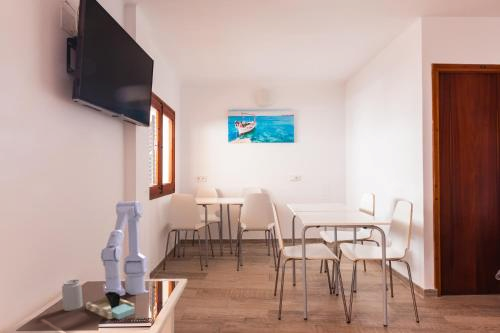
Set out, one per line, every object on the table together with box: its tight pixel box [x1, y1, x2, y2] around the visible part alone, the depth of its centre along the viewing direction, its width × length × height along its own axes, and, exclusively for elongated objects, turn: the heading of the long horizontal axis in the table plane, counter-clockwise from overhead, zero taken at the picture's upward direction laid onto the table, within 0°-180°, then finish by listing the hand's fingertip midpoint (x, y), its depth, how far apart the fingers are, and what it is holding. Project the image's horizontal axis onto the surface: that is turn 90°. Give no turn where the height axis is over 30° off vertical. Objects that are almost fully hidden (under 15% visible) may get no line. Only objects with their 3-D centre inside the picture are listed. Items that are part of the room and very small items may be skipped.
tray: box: [85, 296, 136, 320], centre depth 148 cm, size 20×11×3 cm, turn 49°
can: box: [61, 278, 84, 311], centre depth 153 cm, size 8×8×12 cm
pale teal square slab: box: [108, 304, 136, 320], centre depth 142 cm, size 8×7×2 cm
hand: (115, 309), depth 145 cm, fingers closed
